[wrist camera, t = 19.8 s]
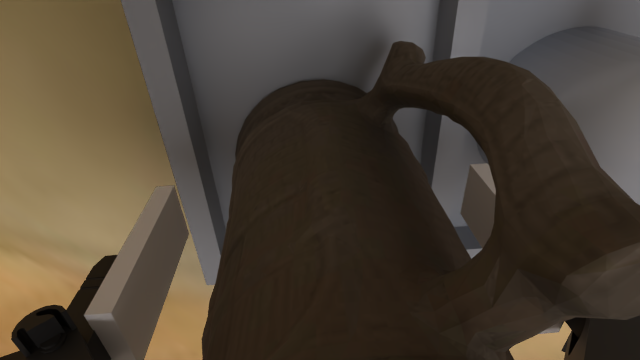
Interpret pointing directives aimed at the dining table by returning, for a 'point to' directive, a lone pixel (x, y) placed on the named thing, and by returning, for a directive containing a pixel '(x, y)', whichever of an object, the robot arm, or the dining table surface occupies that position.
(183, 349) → the dining table surface
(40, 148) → the dining table surface
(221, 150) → the tray
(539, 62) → the white piece
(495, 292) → the beer stein
